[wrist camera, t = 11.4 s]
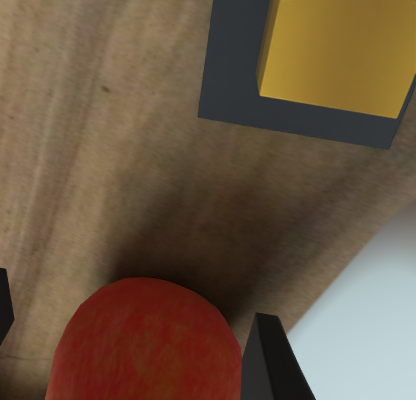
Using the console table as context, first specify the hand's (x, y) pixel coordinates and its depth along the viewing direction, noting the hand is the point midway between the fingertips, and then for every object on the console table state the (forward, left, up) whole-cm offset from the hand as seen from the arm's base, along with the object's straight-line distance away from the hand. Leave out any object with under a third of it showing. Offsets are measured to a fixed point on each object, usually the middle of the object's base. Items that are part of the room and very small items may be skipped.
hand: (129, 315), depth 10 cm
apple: (0, -10, -10) cm, 14 cm away
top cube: (+5, +8, -9) cm, 13 cm away
